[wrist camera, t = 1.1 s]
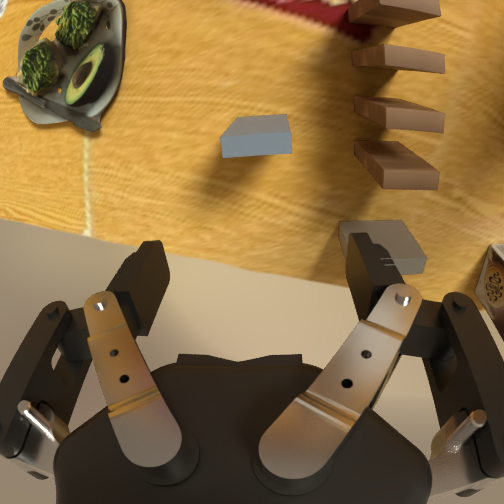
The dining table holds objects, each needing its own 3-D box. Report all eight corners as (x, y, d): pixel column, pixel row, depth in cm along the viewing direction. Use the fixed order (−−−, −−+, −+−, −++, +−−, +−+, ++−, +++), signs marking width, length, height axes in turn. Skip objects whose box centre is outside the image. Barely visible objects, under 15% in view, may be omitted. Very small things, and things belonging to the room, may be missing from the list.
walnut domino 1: (347, 9, 22) (377, -15, 13) (394, 14, 21) (438, -2, 13) (349, 22, 22) (380, 4, 14) (395, 27, 22) (441, 16, 14)
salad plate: (14, 136, 31) (-7, 146, 27) (14, 18, 21) (-9, 19, 17) (127, 127, 30) (107, 137, 27) (135, -19, 21) (116, -28, 17)
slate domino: (236, 117, 29) (220, 137, 21) (286, 114, 29) (290, 132, 20) (238, 132, 30) (222, 158, 22) (287, 129, 29) (291, 153, 21)
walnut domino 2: (351, 51, 24) (384, 44, 16) (397, 55, 24) (444, 54, 15) (352, 66, 25) (385, 65, 17) (398, 70, 24) (445, 74, 16)
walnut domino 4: (354, 140, 29) (384, 169, 21) (397, 141, 29) (439, 171, 20) (354, 154, 30) (383, 189, 22) (397, 155, 30) (437, 190, 21)
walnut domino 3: (353, 95, 27) (386, 107, 18) (398, 98, 26) (444, 113, 18) (354, 110, 28) (386, 128, 19) (398, 113, 27) (443, 133, 19)
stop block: (339, 221, 35) (352, 260, 28) (402, 219, 34) (426, 257, 27) (338, 236, 36) (350, 277, 29) (399, 234, 35) (422, 273, 28)
